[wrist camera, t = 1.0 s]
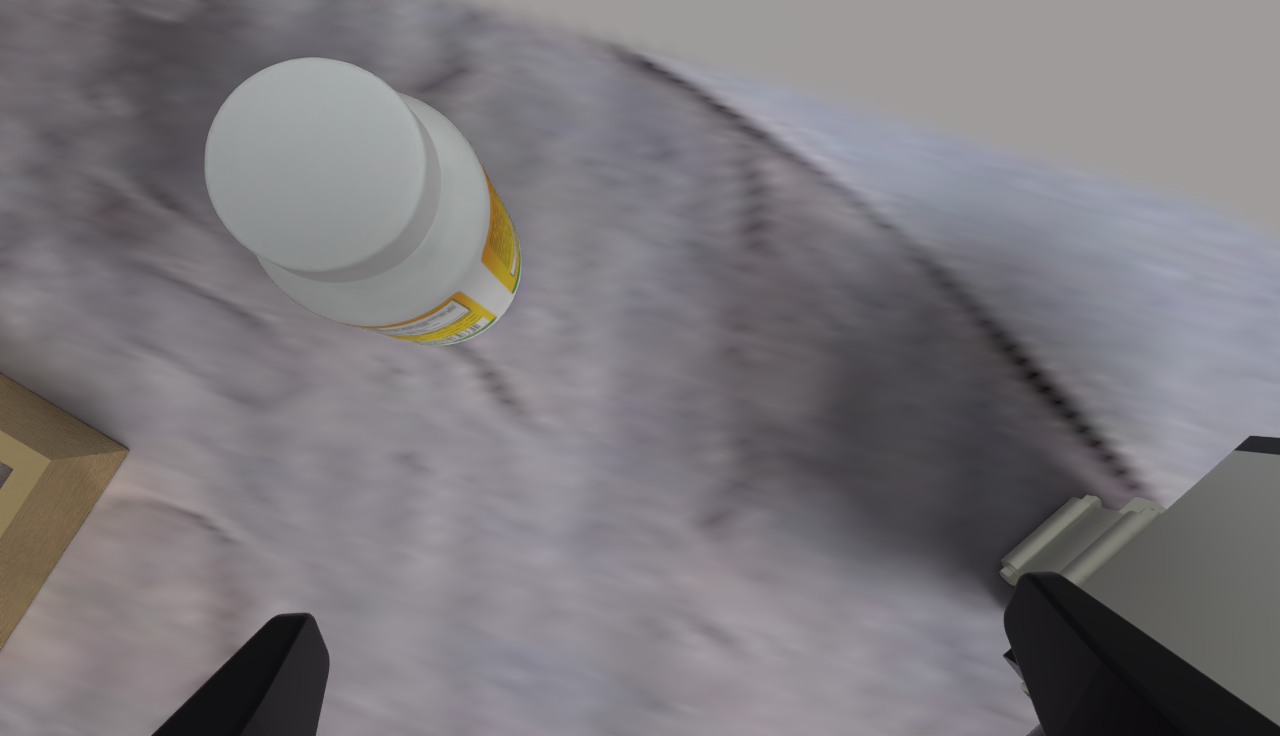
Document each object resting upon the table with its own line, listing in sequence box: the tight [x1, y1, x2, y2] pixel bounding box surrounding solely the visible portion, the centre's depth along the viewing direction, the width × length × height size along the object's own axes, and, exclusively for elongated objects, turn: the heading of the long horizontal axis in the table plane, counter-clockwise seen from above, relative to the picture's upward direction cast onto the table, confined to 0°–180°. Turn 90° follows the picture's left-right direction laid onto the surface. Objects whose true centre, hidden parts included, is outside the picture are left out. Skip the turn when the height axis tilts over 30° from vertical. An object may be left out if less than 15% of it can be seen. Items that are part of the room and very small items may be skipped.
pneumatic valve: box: [999, 436, 1280, 736], centre depth 17 cm, size 6×12×12 cm, turn 130°
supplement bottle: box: [204, 57, 522, 345], centre depth 17 cm, size 5×5×10 cm
